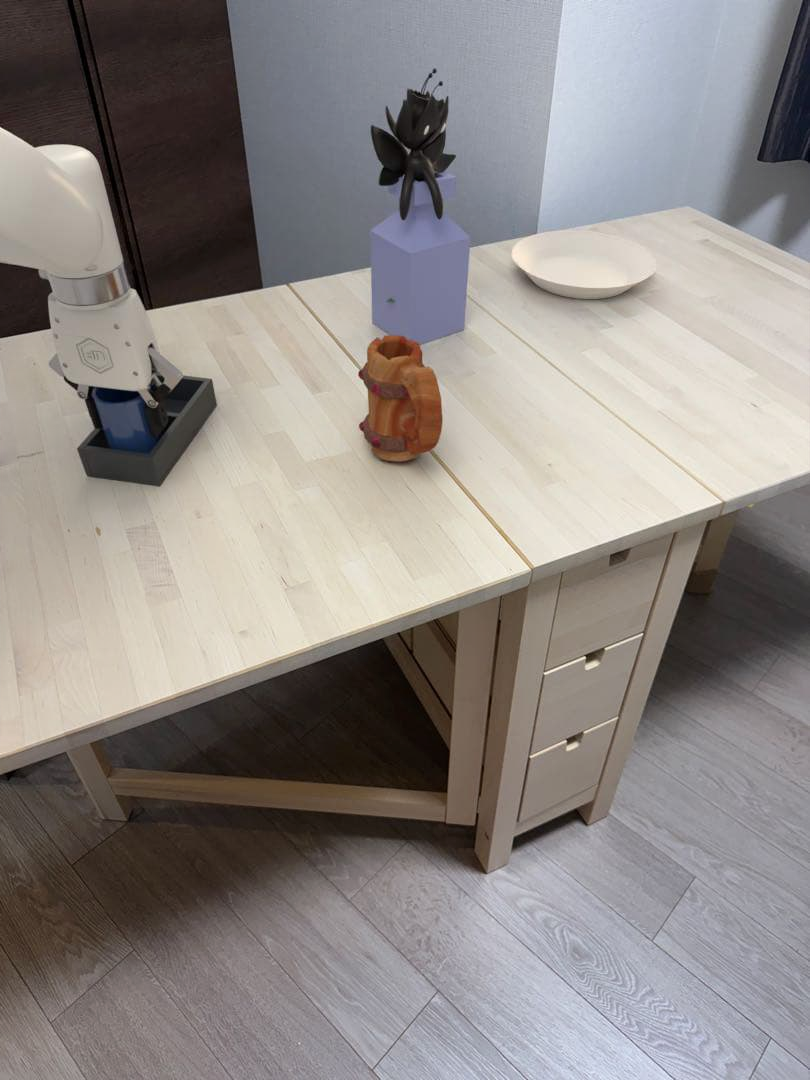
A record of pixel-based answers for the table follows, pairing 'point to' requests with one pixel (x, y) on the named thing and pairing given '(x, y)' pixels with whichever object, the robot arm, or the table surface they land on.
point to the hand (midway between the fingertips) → (131, 425)
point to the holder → (185, 419)
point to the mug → (400, 400)
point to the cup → (124, 420)
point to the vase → (418, 227)
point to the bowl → (583, 263)
